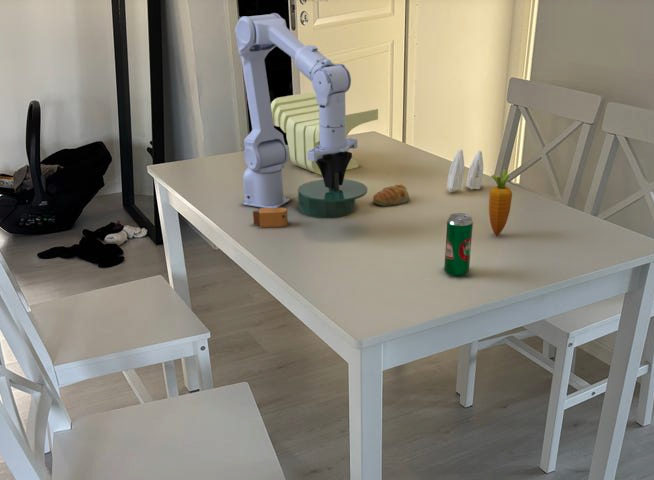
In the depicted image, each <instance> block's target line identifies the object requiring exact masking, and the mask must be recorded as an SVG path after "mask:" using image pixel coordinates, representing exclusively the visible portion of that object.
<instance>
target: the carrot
mask: <svg viewBox="0 0 654 480" xmlns="http://www.w3.org/2000/svg"><path fill="white" fill-rule="evenodd" d="M490 176H491V178H492V179H493V180H494V181H495V183H496V186H494V187H492V188H491V189H490V190H489V196H488V215H489V223H490V226H491V229H492V232H493V234H494V235H495V237H498V236H500V235H501V233H502V231H503V230H504V229H505V227H506V224H507V222H508V218H509V215H510V212H511V206H512V199H513V191H512V190H511V188H510V187H508V186H506V184H507V181H508V180H509V178H510V175H509V174H508V170H507V169H503V170H502V178H501V176H500V175H498V174H497V175H495V174H492V175H490Z"/></svg>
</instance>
